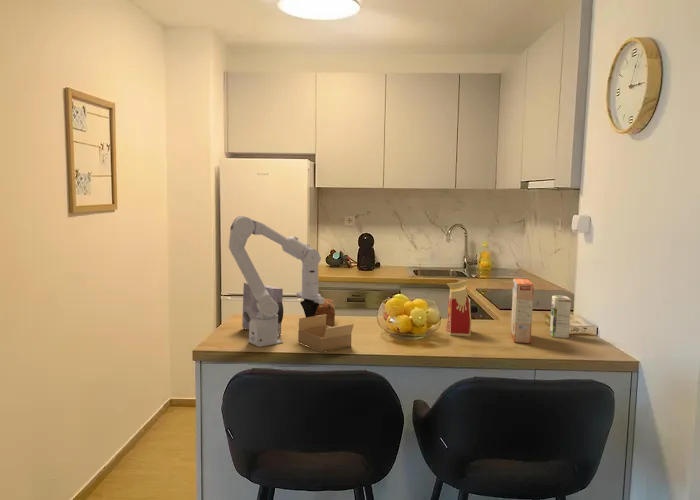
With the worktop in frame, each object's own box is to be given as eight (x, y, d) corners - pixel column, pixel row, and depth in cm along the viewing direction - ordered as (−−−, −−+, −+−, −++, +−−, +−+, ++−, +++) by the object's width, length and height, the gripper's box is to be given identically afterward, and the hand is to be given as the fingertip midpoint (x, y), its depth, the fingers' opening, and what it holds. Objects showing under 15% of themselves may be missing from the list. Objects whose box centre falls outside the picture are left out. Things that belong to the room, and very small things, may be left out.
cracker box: (531, 344, 189) (534, 284, 188) (513, 343, 191) (516, 283, 189) (527, 334, 203) (529, 278, 201) (510, 333, 204) (512, 277, 202)
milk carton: (468, 330, 209) (470, 278, 207) (471, 336, 199) (473, 281, 198) (444, 329, 209) (445, 277, 208) (446, 335, 200) (447, 281, 198)
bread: (335, 330, 207) (335, 304, 206) (306, 330, 207) (306, 304, 206) (334, 319, 226) (334, 295, 225) (308, 319, 225) (308, 295, 224)
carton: (321, 352, 176) (321, 338, 176) (298, 343, 187) (298, 330, 187) (351, 346, 184) (351, 333, 183) (326, 338, 195) (327, 325, 194)
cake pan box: (284, 335, 197) (284, 287, 196) (273, 338, 194) (273, 288, 192) (252, 327, 211) (252, 281, 209) (241, 329, 207) (241, 282, 205)
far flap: (325, 325, 194) (325, 325, 194) (326, 314, 194) (325, 314, 194) (299, 329, 187) (298, 329, 188) (299, 318, 187) (299, 318, 187)
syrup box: (549, 333, 205) (551, 295, 203) (565, 334, 204) (567, 295, 202) (552, 337, 199) (554, 297, 198) (569, 338, 198) (571, 298, 197)
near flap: (323, 338, 176) (324, 339, 176) (326, 327, 175) (326, 328, 175) (350, 333, 183) (351, 334, 183) (353, 323, 182) (353, 324, 181)
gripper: (331, 284, 187) (331, 323, 189) (308, 279, 199) (308, 316, 200) (314, 286, 183) (314, 326, 184) (291, 280, 195) (291, 318, 196)
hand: (310, 321), depth 192 cm, fingers closed
